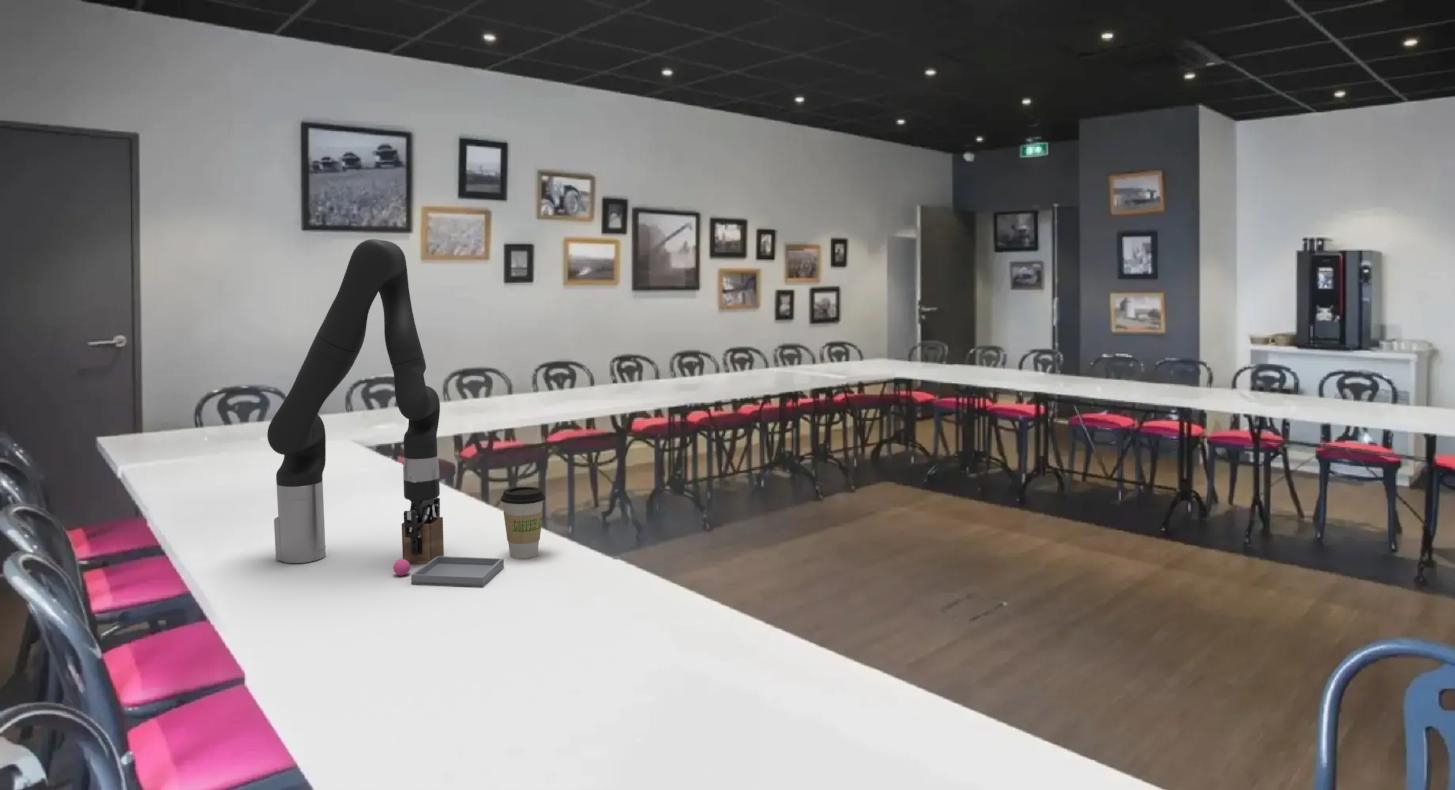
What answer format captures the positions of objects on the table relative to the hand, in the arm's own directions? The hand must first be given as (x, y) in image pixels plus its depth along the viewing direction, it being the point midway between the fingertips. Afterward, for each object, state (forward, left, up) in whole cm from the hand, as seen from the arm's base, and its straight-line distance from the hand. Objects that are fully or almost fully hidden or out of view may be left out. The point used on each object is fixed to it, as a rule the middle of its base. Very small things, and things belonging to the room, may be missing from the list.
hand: (423, 549), depth 197 cm
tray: (+12, -10, -2) cm, 16 cm away
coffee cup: (+21, +6, -3) cm, 22 cm away
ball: (0, -11, -1) cm, 11 cm away
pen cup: (0, 0, -2) cm, 2 cm away
